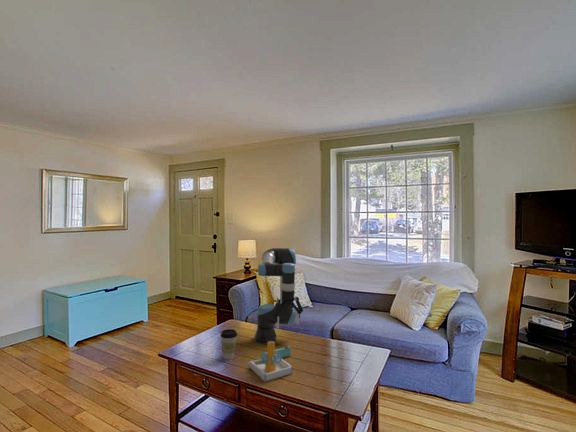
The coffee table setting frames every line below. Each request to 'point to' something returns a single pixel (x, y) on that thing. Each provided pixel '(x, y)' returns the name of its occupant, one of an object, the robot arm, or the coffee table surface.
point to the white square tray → (281, 371)
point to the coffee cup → (228, 343)
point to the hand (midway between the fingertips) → (287, 325)
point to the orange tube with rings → (270, 357)
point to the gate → (281, 352)
